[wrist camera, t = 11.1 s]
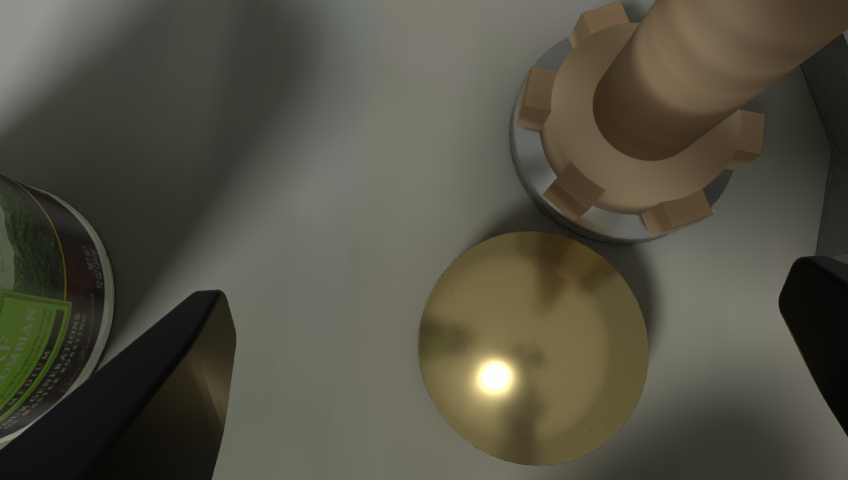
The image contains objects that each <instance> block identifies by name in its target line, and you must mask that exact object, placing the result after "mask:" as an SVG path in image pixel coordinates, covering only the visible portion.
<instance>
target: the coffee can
mask: <svg viewBox="0 0 848 480" xmlns="http://www.w3.org/2000/svg"><path fill="white" fill-rule="evenodd" d="M114 303H115V286H114V278H113V272H112V267H111V263H110V261H109V258H108V255H107V252H106V250H105V247H104V245H103V243H102V242H101V240H100V238H99V236H98V235H97V233H96V232H95V230H94V229H93V227H92V226H91V225H90V223H89V222H88V221H87V220H86V219H85V218H84V217H83V216H82V215H81V214H80V213H79V212H78V211H77V210H75V209H74V208H73V207H72V206H70V205H69V204H68V203H66V202H65V201H63V200H62V199H60V198H59V197H57V196H55V195H53V194H51V193H49V192H47V191H44V190H41V189H38V188H35V187H32V186H28V185H26V184H24V183H22V182H20V181H17V180H15V179H13V178H11V177H9V176H7V175H4V174H2V173H0V443H3V442H6V441H8V440H11V439H14V438H16V437H17V436H18V435H20V434H21V433H22V432H23V431H24V430H26V429H27V428H28V427H29V426H31V425H32V424H33V423H34V422H36V421H37V420H38V419H39V418H40V417H42V416H43V415H44V414H45V413H47V412H48V411H49V410H50V409H51V408H53V407H54V406H55V405H56V404H58V403H59V402H60V401H61V400H62V399H64V398H65V397H66V396H67V395H69V394H70V393H71V392H72V391H73V390H75V389H76V388H77V387H78V386H80V385H81V384H82V383H83V382H84V381H86V380H87V379H88V378H89V377H90V375H91V373H92V372H93V370H94V369H95V367H96V365H97V362H98V360H99V358H100V356H101V354H102V352H103V350H104V347H105V345H106V342H107V339H108V336H109V333H110V329H111V325H112V320H113V313H114Z"/></svg>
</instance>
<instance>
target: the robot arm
mask: <svg viewBox="0 0 848 480" xmlns="http://www.w3.org/2000/svg"><path fill="white" fill-rule="evenodd" d="M779 309H780V312H781V315H782V317H783V319H784V321H785V323H786V325H787V327H788V329H789V331H790V333H791V335H792V337H793V339H794V341H795V343H796V345H797V347H798V349H799V351H800V353H801V355H802V357H803V359H804V361H805V363H806V365H807V367H808V369H809V371H810V373H811V375H812V377H813V379H814V381H815V383H816V385H817V387H818V389H819V391H820V393H821V394H822V396H823V398H824V399H825V401H826V403H827V404H828V406H829V408H830V409H831V411H832V413H833V414H834V416H835V417H836V419H837V420H838V422H839V424H840V425H841V427H842V428H843V430H844V432H845V433H846V435H847V436H848V264H846V263H843V262H841V261H838V260H836V259H833V258H831V257H828V256H808V257H801V258H798V259H797V260H796V261H795V262H794V263H793V265H792V267H791V269H790V272H789V274H788V276H787V279H786V281H785V284H784V286H783V288H782V291H781V293H780V296H779ZM235 349H236V331H235V326H234V323H233V319H232V315H231V312H230V308H229V304H228V301H227V298H226V295H225V294H224V292H223V291H221V290H205V291H196V292H194V293H192V294H191V295H190V296H189V297H187V298H186V299H185V300H184V301H182V302H181V303H180V304H179V305H178V306H176V307H175V308H174V309H173V310H171V311H170V312H169V313H168V314H167V315H165V316H164V317H163V318H162V319H160V320H159V321H158V322H157V323H155V324H154V325H153V326H152V327H151V328H149V329H148V330H147V331H146V332H144V333H143V334H142V335H141V336H140V337H138V338H137V339H136V340H135V341H133V342H132V343H131V344H130V345H129V346H127V347H126V348H125V349H124V350H122V351H121V352H120V353H119V354H118V355H116V356H115V357H114V358H113V359H111V360H110V361H109V362H108V363H107V364H105V365H104V366H103V367H102V368H100V369H99V370H98V371H97V372H95V373H94V374H93V375H92V376H91V377H89V378H88V379H87V380H86V381H84V382H83V383H82V384H81V385H80V386H78V387H77V388H76V389H75V390H73V391H72V392H71V393H70V394H69V395H67V396H66V397H65V398H64V399H62V400H61V401H60V402H59V403H58V404H56V405H55V406H54V407H53V408H51V409H50V410H49V411H48V412H47V413H45V414H44V415H43V416H42V417H40V418H39V419H38V420H37V421H36V422H34V423H33V424H32V425H31V426H29V427H28V428H27V429H26V430H24V431H23V432H22V433H21V434H20V435H18V436H17V437H16V438H15V439H13V440H12V441H11V442H10V443H9V444H7V445H6V446H5V447H4V448H2V449H1V450H0V480H212V476H213V472H214V468H215V465H216V461H217V457H218V453H219V450H220V446H221V441H222V437H223V433H224V426H225V420H226V413H227V406H228V399H229V392H230V385H231V377H232V370H233V363H234V356H235Z"/></svg>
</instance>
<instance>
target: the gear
mask: <svg viewBox="0 0 848 480" xmlns="http://www.w3.org/2000/svg"><path fill="white" fill-rule="evenodd" d="M847 29H848V0H656V1H655V3H654V4H653V6H652V7H651V8H650V10H649V11H648V13H647V14H646V15H645V17H644V18H643V20H642V21H641V23H639V22H633V23H630V22H629V19H628V17H627V15H626V12H625V10H624V8H623V6H622V3H621V2H617V3H614V4H611V5H607V6H604V7H600V8H597V9H593V10H590V11H586V12H583V13H582V14H581V16H580V18H579V20H578V22H577V24H576V26H575V27H574V29H573V31H572V33H571V35H570V37H569V40H570V42H571V45H572V47H573V50H572V51H571V52H570V54H569V55H568V56H567V57H566V59H565V60H564V62H563V64H562V65H561V67H560V69H559V71H558V72H556V71H552V70H547V69H542V68H537V67H531V70H530V72H529V74H528V76H527V79H526V81H525V83H524V86H523V88H522V93H521V98H520V103H519V109H518V114H517V119H516V125H517V126H522V127H527V128H532V129H537V130H540V139H541V144H542V148H543V151H544V154H545V157H546V159H547V161H548V163H549V165H550V167H551V168H552V170H553V172H554V173H555V175H556V176H557V178H556V179H555V180H554V181H553V183H552V184H551V185H550V186H549V187H548V188H547V190H546V191H545V192H544V193H543V194H542V195H543V196H544V197H545V198H546V199H547V200H549V201H550V202H551V203H552V204H553V205H555V206H556V207H557V208H558V209H559V210H561V211H562V212H563V213H564V214H565V215H566V216H568V217H569V218H570V219H571V220H572V221H574V222H575V221H576V220H577V219H578V218H580V217H581V216H582V215H583V214H585V213H586V212H587V211H588V210H589V209H590V208H591V207H592V206H595V207H597V208H600V209H602V210H605V211H609V212H613V213H618V214H625V215H640V214H641V215H642V217H643V219H644V222H645V224H646V227H647V229H648V232H649V234H650V236H651V238H652V237H655V236H658V235H661V234H665V233H668V232H671V231H674V230H677V229H680V228H683V227H686V226H689V225H691V224H693V223H695V222H698V221H700V220H702V219H704V218H706V217H708V216H711V215H713V212H712V210H711V208H710V205H709V203H708V201H707V198H706V196H705V194H704V192H703V189H702V188H704V187H706V186H707V185H708V184H710V183H711V182H712V181H713V180H715V179H716V178H717V177H718V176H719V175H720V174H721V173H722V171H723V170H724V169H725V168H726V169H731V170H735V169H737V168H739V167H740V166H742V165H744V164H746V163H747V162H749V161H751V160H753V159H755V158H756V157H758V156H760V155H761V154H762V143H763V133H764V122H765V114H761V113H756V112H751V111H746V110H741V109H740V108H742V107H743V106H744V105H746V104H747V103H748V102H750V101H751V100H752V99H754V98H755V97H756V96H758V95H759V94H760V93H762V92H763V91H765V90H766V89H767V88H769V87H770V86H771V85H773V84H774V83H775V82H777V81H778V80H779V79H781V78H782V77H784V76H785V75H786V74H788V73H789V72H790V71H792V70H793V69H794V68H796V67H797V66H798V65H800V64H801V63H803V62H804V61H805V60H807V59H808V58H809V57H811V56H812V55H813V54H815V53H816V52H817V51H819V50H820V49H822V48H823V47H824V46H826V45H827V44H828V43H830V42H831V41H832V40H834V39H835V38H836V37H838V36H839V35H840V34H842V33H843V32H845V31H846V30H847Z"/></svg>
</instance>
